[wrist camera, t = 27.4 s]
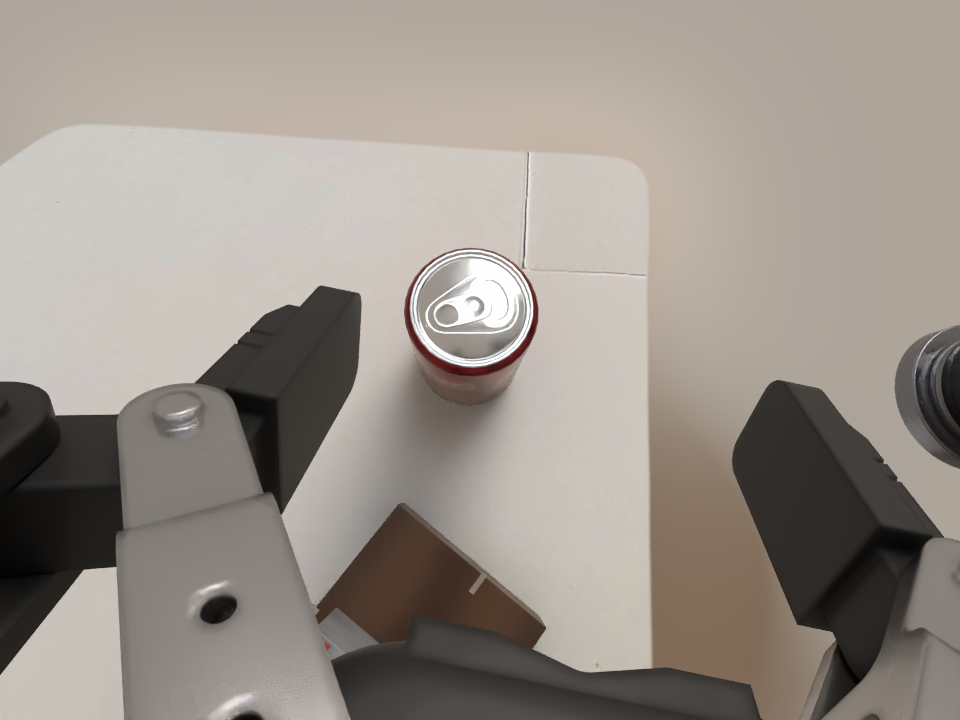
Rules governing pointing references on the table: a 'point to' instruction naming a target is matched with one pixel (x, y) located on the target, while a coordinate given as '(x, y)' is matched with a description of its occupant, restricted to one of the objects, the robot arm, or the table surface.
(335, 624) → the red-tipped metal brick
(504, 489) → the table surface
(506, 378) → the soda can
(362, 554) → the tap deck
